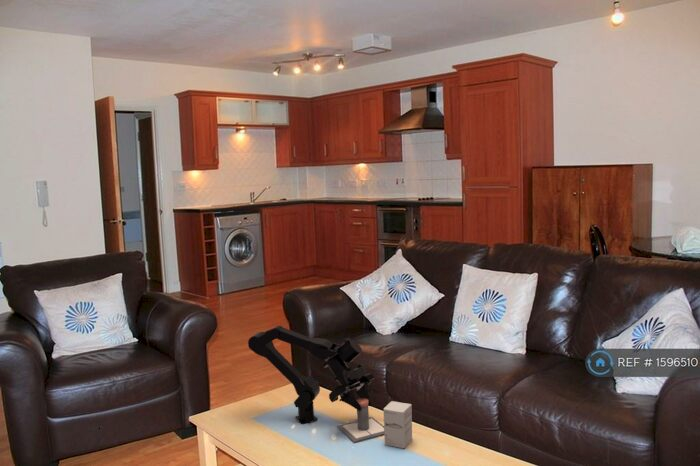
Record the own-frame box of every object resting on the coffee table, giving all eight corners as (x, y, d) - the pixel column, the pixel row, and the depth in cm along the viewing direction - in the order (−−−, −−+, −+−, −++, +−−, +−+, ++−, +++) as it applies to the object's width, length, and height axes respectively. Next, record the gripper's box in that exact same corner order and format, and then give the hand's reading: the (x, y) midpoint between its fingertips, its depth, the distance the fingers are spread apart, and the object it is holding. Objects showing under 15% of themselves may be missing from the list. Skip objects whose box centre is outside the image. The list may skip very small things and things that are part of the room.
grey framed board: (337, 427, 210) (336, 423, 210) (372, 418, 216) (372, 414, 215) (354, 443, 197) (354, 439, 197) (391, 433, 203) (390, 429, 203)
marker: (355, 427, 207) (354, 399, 206) (366, 424, 209) (364, 397, 208) (360, 431, 203) (359, 404, 202) (371, 429, 205) (370, 401, 204)
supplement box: (383, 445, 195) (382, 408, 193) (393, 435, 201) (391, 400, 200) (404, 449, 191) (403, 412, 190) (413, 439, 198) (411, 403, 196)
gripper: (333, 365, 199) (359, 404, 193) (369, 351, 213) (394, 387, 207) (318, 382, 206) (342, 421, 199) (354, 367, 219) (378, 403, 213)
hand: (365, 407), depth 204 cm, fingers open, 5 cm apart
